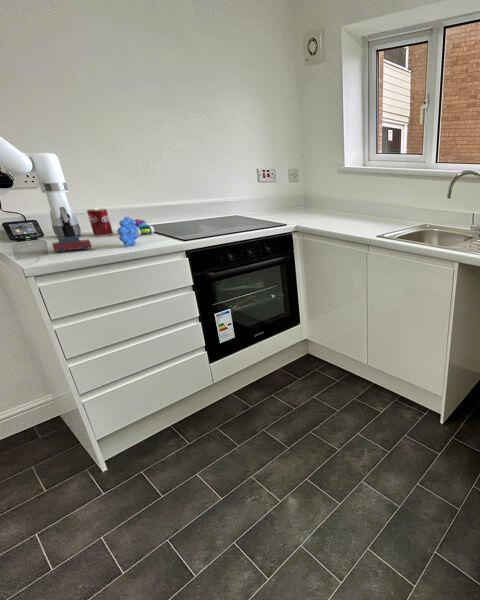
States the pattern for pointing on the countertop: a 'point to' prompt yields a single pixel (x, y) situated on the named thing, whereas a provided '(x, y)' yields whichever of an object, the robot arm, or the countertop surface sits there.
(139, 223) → the multicoloured rounded piece
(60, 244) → the red boxy piece
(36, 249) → the countertop surface
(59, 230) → the smart speaker
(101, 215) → the soda can
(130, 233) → the grapes
